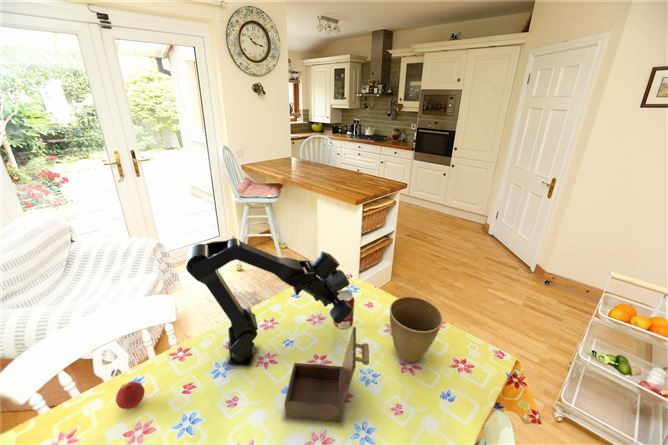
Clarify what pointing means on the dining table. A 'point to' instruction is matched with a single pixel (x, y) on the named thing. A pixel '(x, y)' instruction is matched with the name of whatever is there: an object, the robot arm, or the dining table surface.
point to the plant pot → (413, 326)
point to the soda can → (350, 299)
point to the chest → (314, 393)
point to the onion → (130, 395)
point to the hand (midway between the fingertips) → (347, 307)
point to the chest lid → (351, 363)
